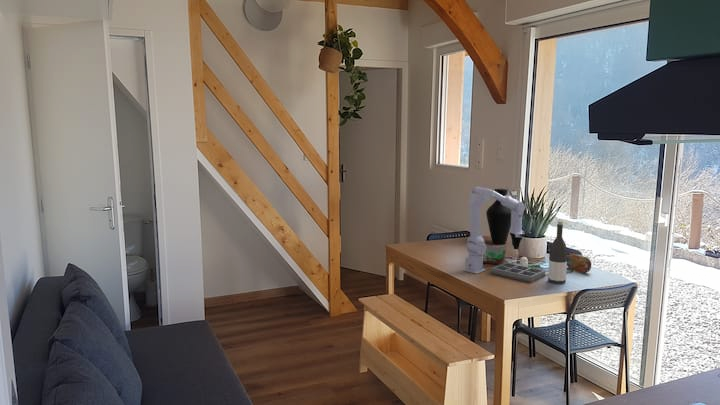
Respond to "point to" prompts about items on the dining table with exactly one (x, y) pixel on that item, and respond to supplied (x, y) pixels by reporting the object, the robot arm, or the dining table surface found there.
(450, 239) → the dining table surface
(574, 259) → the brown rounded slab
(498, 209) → the vase
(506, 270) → the grey compartment tray
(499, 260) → the food container
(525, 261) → the egg
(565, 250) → the wine bottle
